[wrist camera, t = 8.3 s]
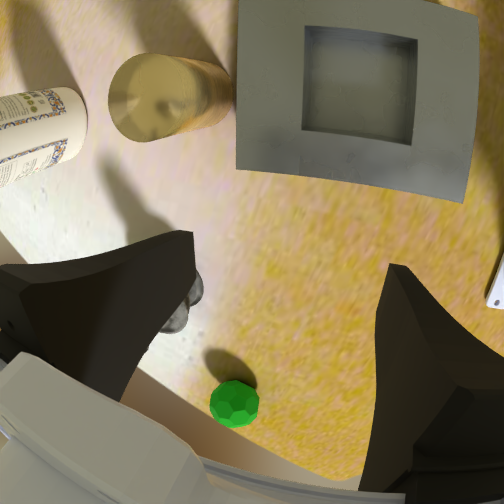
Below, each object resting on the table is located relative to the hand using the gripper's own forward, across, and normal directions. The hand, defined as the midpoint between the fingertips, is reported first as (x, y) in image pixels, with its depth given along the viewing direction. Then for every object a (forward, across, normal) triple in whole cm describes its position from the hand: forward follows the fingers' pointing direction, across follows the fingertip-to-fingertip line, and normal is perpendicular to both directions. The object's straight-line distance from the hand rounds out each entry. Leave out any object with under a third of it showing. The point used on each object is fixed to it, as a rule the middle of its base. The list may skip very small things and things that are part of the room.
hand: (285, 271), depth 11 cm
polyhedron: (+10, +5, +21) cm, 24 cm away
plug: (+10, +8, -6) cm, 14 cm away
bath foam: (+10, +22, -5) cm, 25 cm away
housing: (+10, -2, -7) cm, 12 cm away
